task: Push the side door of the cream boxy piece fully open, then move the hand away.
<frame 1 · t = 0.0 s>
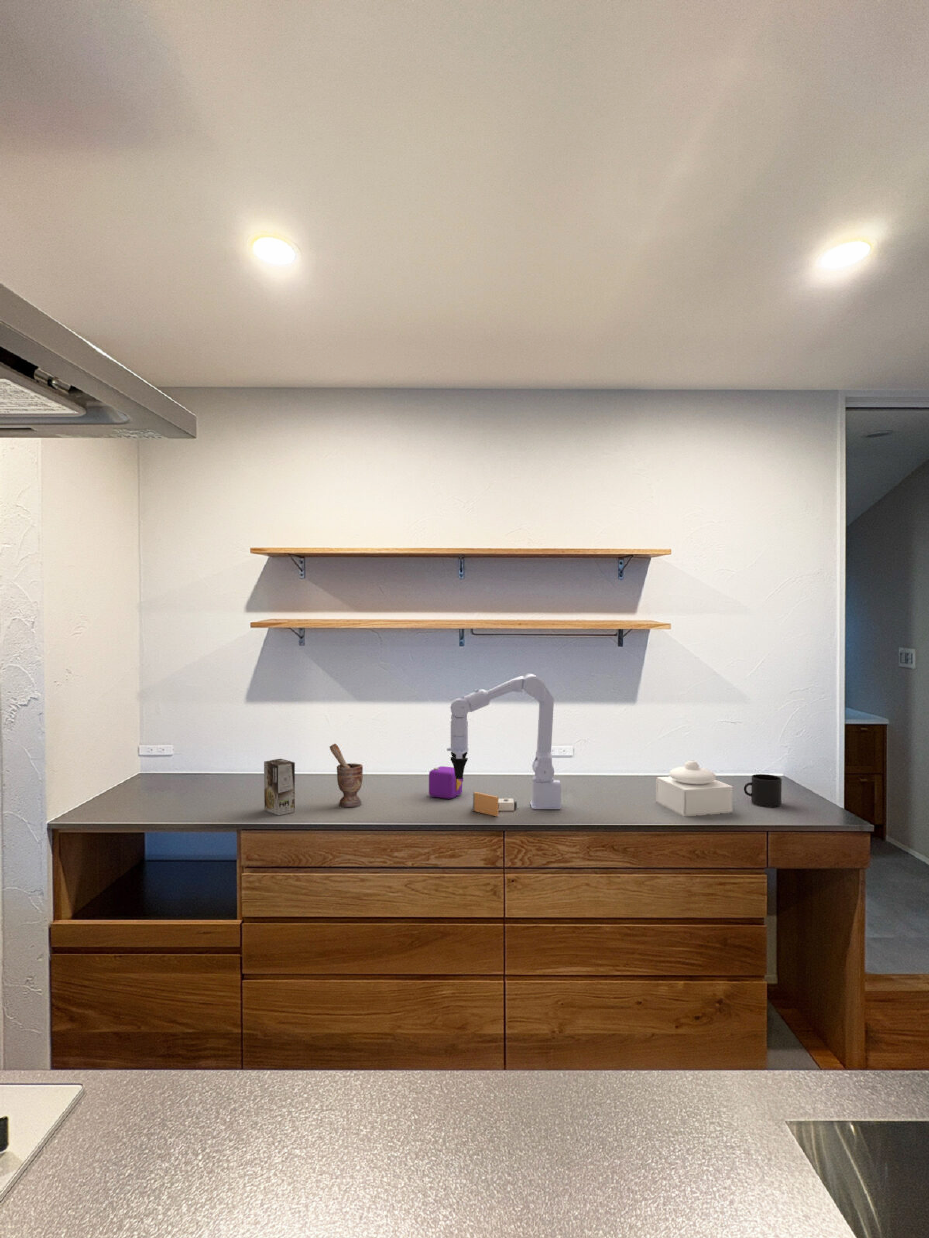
hand: (459, 775, 243), 10 cm above the countertop, fingers open, 7 cm apart
butter dish: (693, 808, 243), on the countertop
mug: (762, 804, 248), on the countertop
mortar and pestle: (345, 804, 245), on the countertop
coffee box: (279, 811, 237), on the countertop
cream boxy piece: (493, 808, 241), on the countertop
toy camera: (447, 795, 258), on the countertop
side door: (485, 803, 235), point 3 cm above the countertop, hinge at 40.0°
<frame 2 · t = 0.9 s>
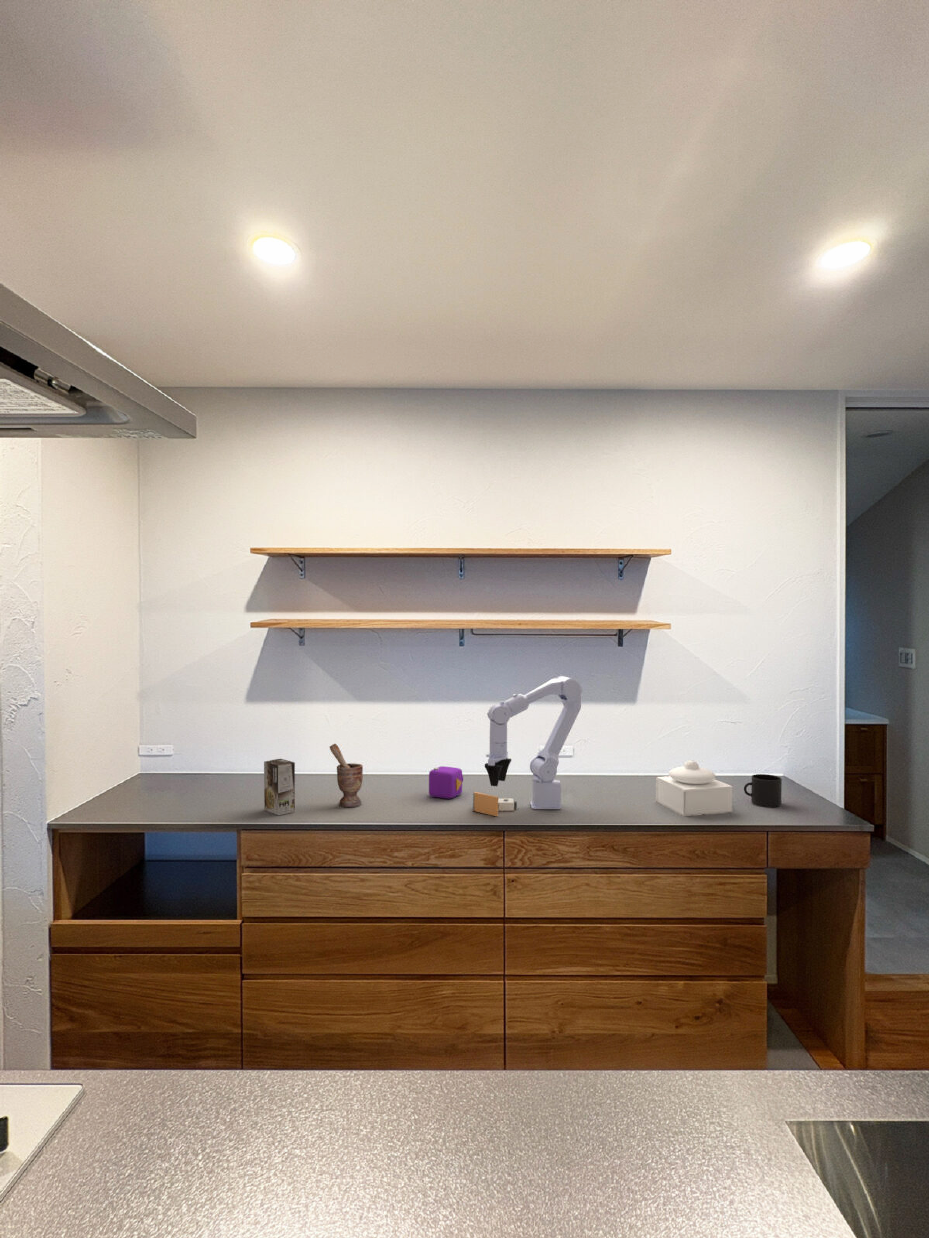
hand: (497, 783, 240), 9 cm above the countertop, fingers open, 7 cm apart
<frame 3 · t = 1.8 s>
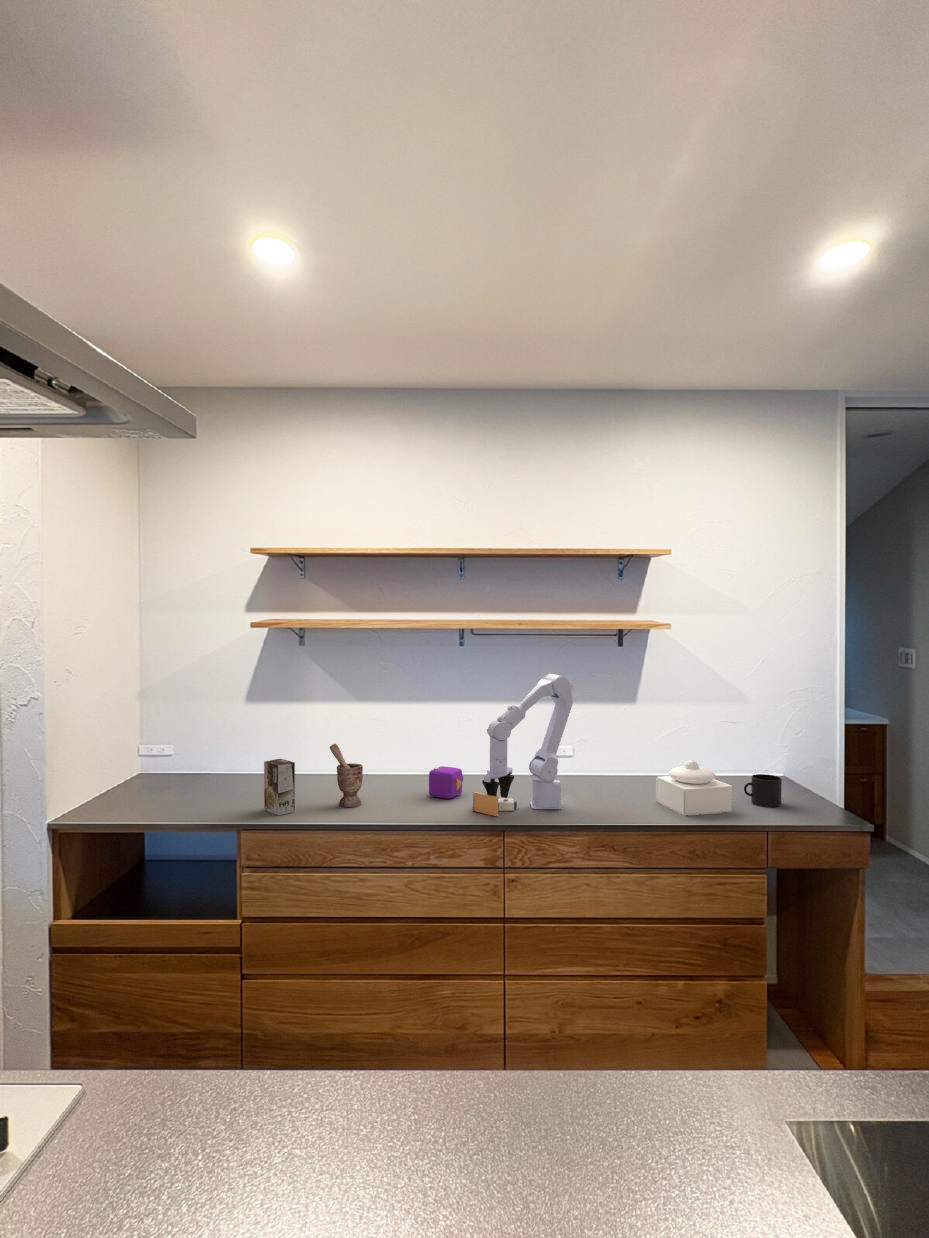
hand: (498, 799, 238), 4 cm above the countertop, fingers open, 7 cm apart
side door: (485, 803, 235), point 3 cm above the countertop, hinge at 40.0°, touching gripper
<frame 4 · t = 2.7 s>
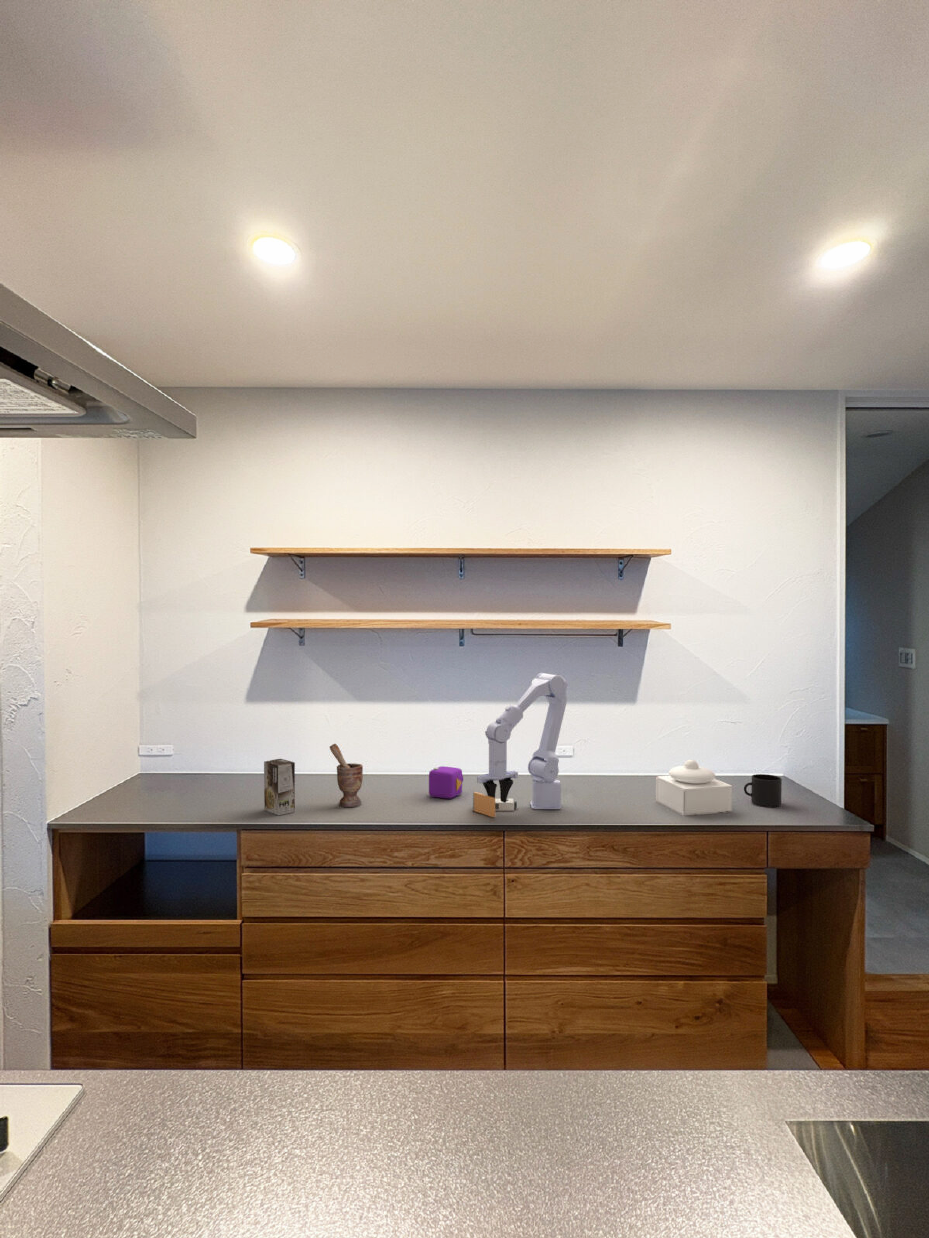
hand: (497, 802, 235), 4 cm above the countertop, fingers open, 4 cm apart
side door: (483, 804, 234), point 3 cm above the countertop, hinge at 49.4°, touching gripper
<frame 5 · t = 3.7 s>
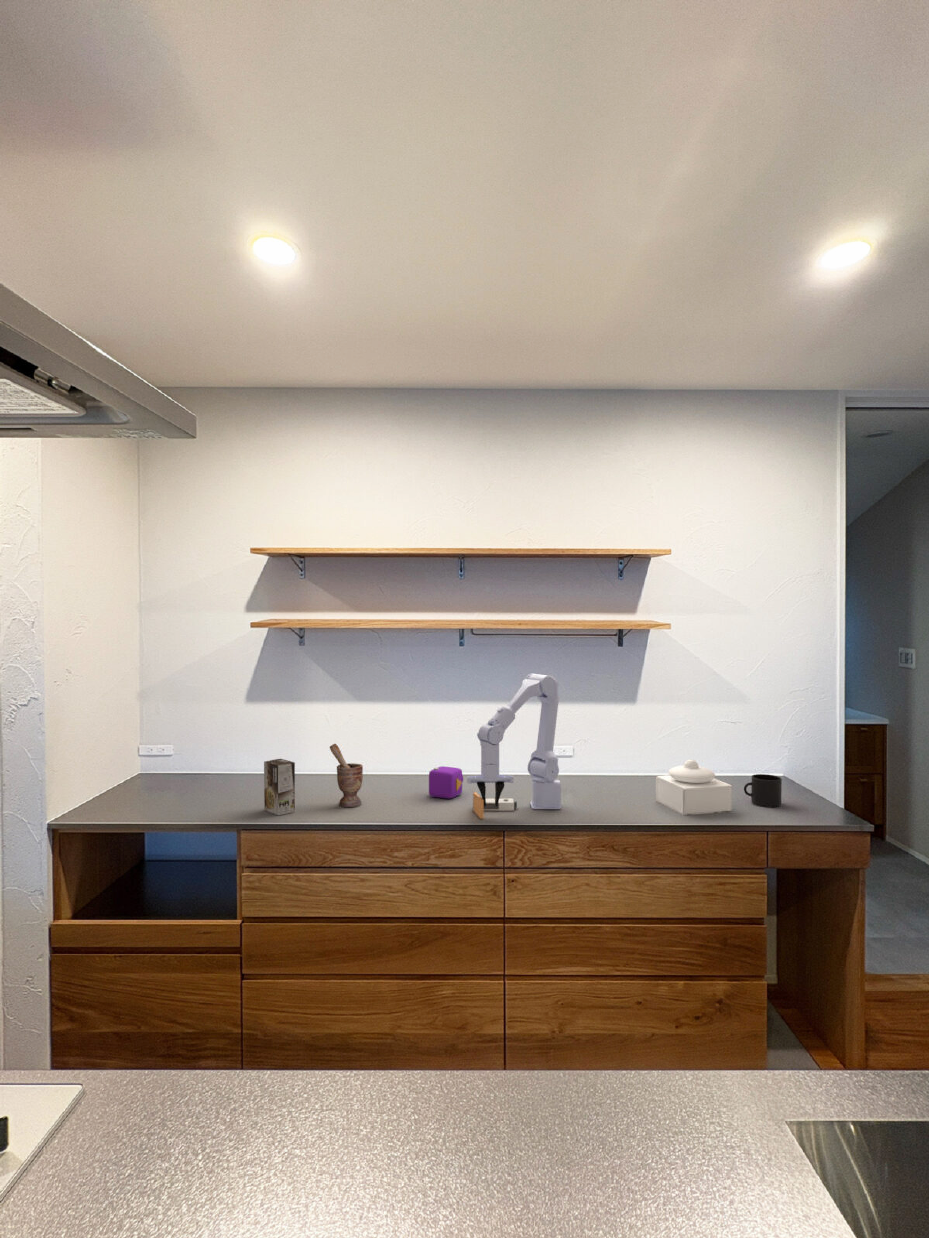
hand: (490, 805, 231), 4 cm above the countertop, fingers open, 3 cm apart
side door: (478, 805, 233), point 3 cm above the countertop, hinge at 76.1°, touching gripper
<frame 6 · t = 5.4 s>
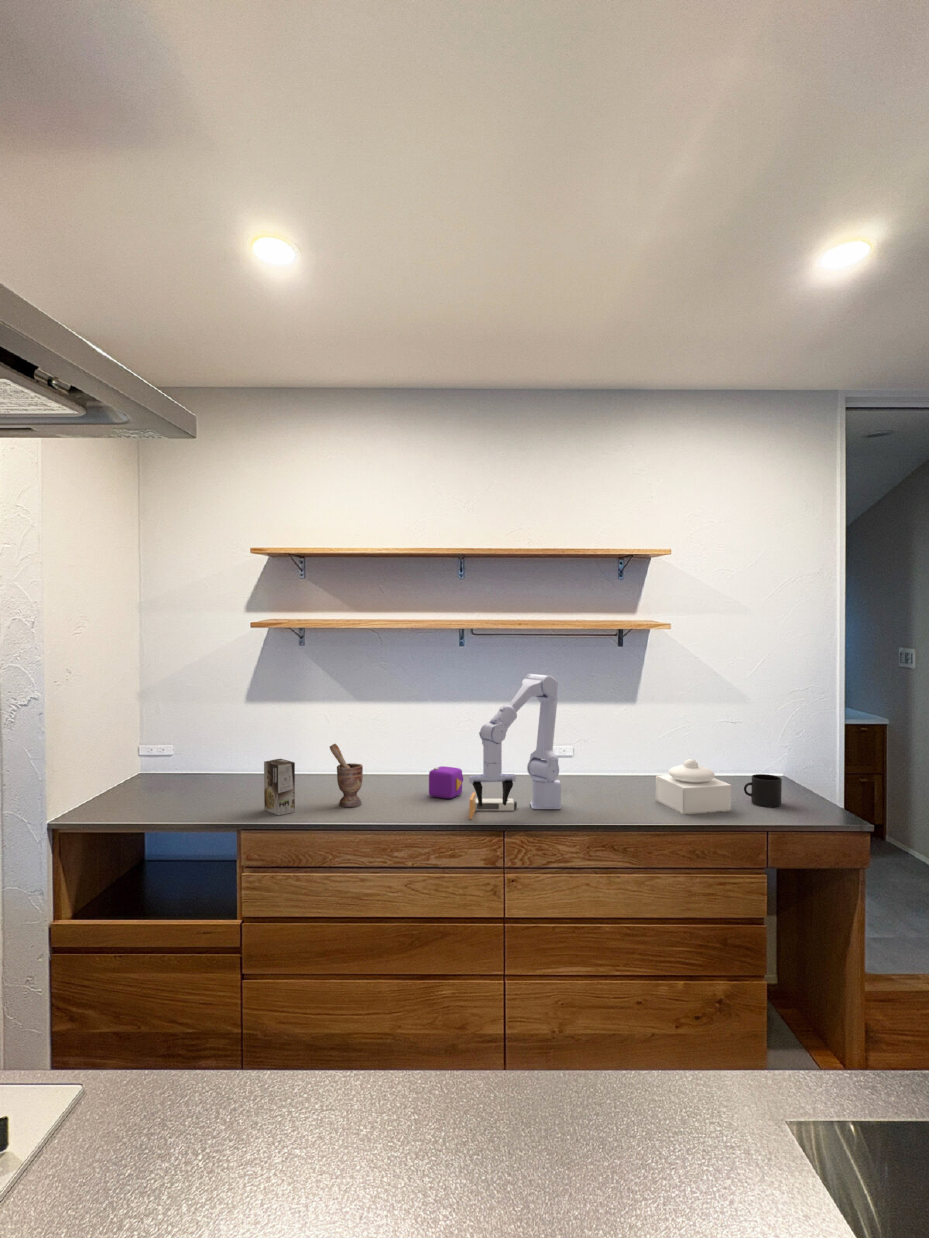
hand: (492, 804, 229), 4 cm above the countertop, fingers open, 7 cm apart
side door: (472, 805, 233), point 3 cm above the countertop, hinge at 98.1°
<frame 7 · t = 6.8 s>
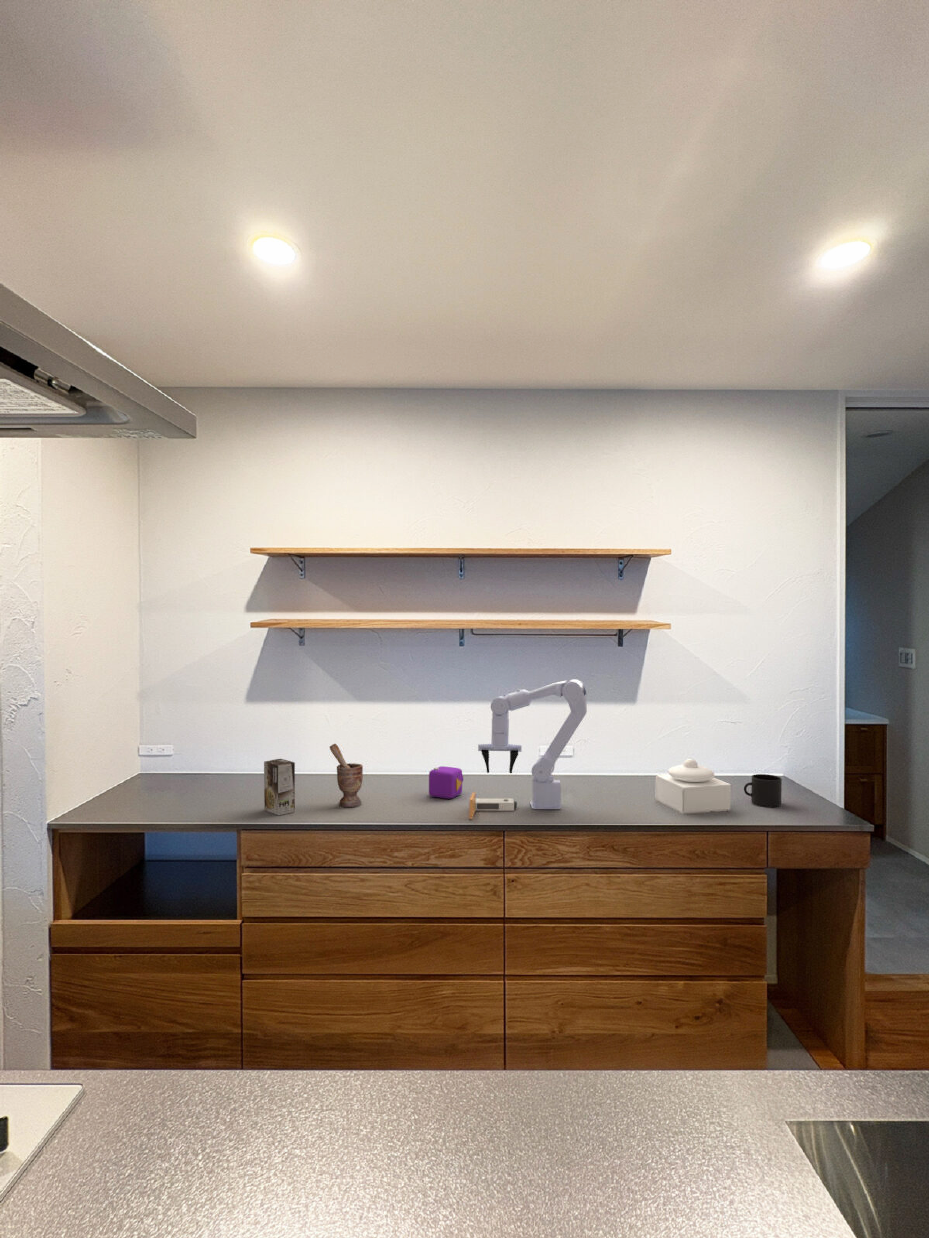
hand: (499, 772, 247), 10 cm above the countertop, fingers open, 7 cm apart
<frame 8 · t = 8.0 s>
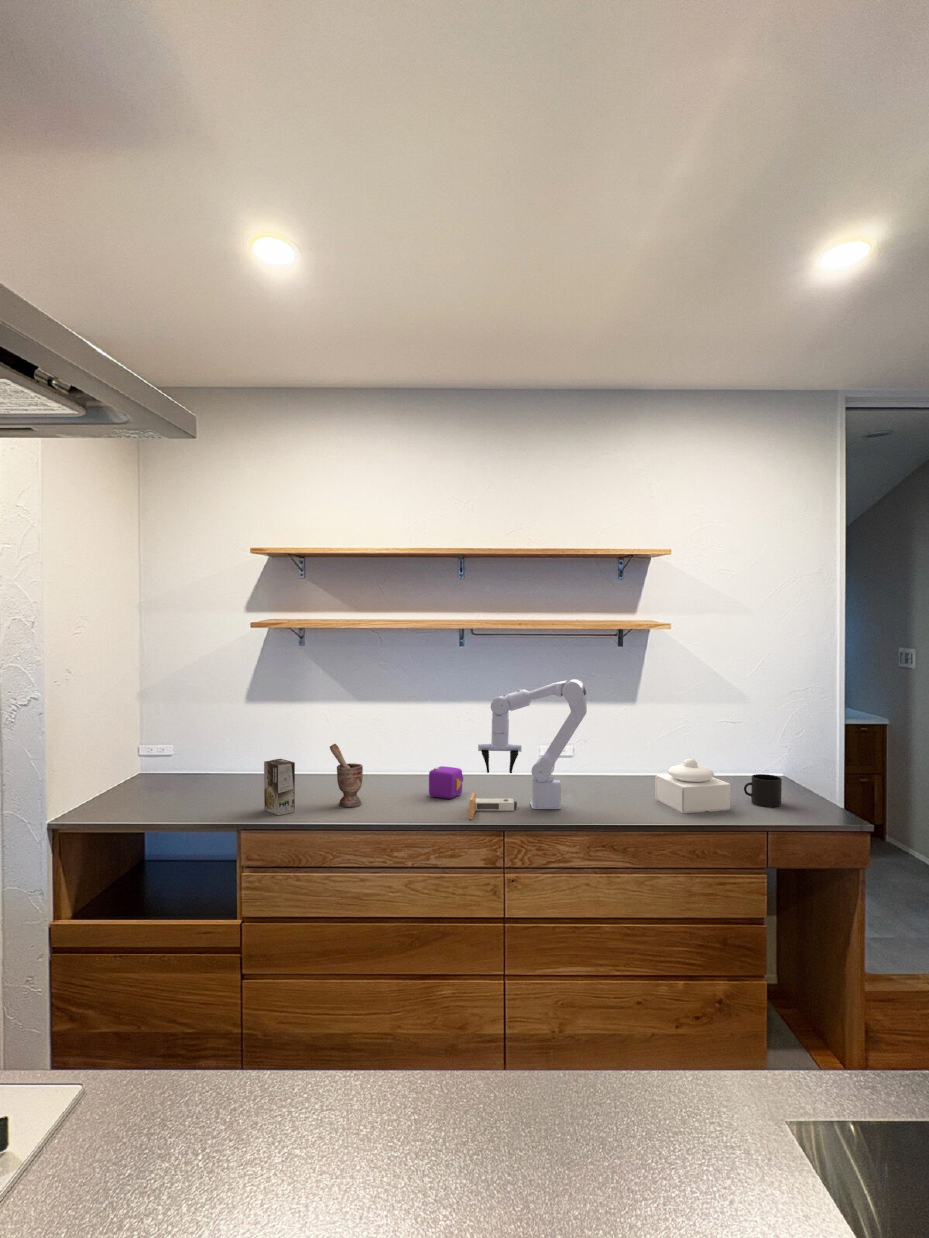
hand: (499, 772, 247), 10 cm above the countertop, fingers open, 7 cm apart
at the end: side door at +98° (first picture: +40°); the gripper is holding nothing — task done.
